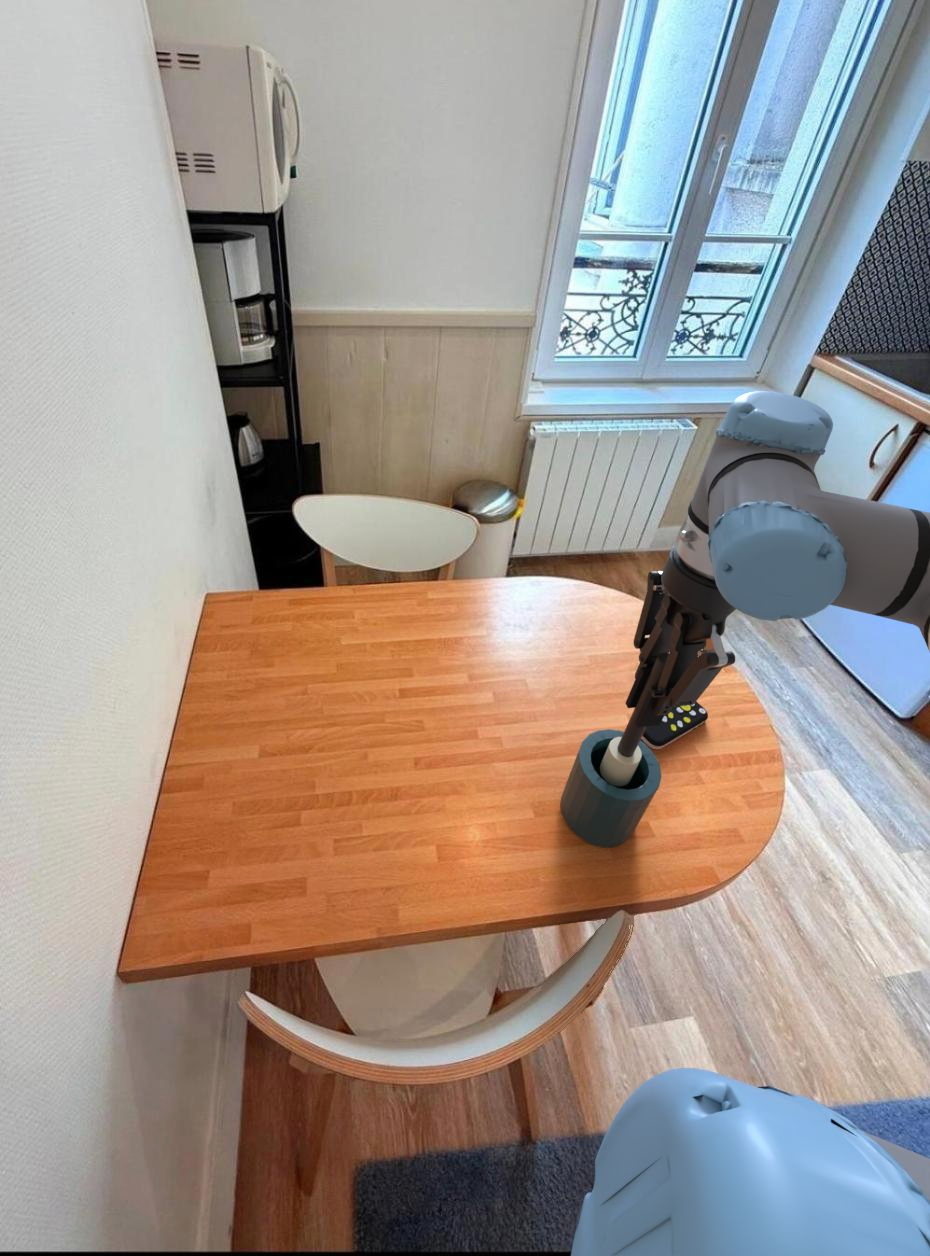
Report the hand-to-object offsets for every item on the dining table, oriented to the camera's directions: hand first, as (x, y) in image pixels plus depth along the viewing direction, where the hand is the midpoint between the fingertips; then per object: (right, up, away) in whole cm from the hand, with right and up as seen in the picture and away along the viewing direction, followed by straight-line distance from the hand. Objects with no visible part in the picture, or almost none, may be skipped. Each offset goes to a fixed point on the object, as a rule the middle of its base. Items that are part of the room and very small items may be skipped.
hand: (642, 713), depth 71 cm
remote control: (+14, -8, +26) cm, 31 cm away
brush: (-1, -10, +8) cm, 12 cm away
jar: (-1, -17, +14) cm, 22 cm away
